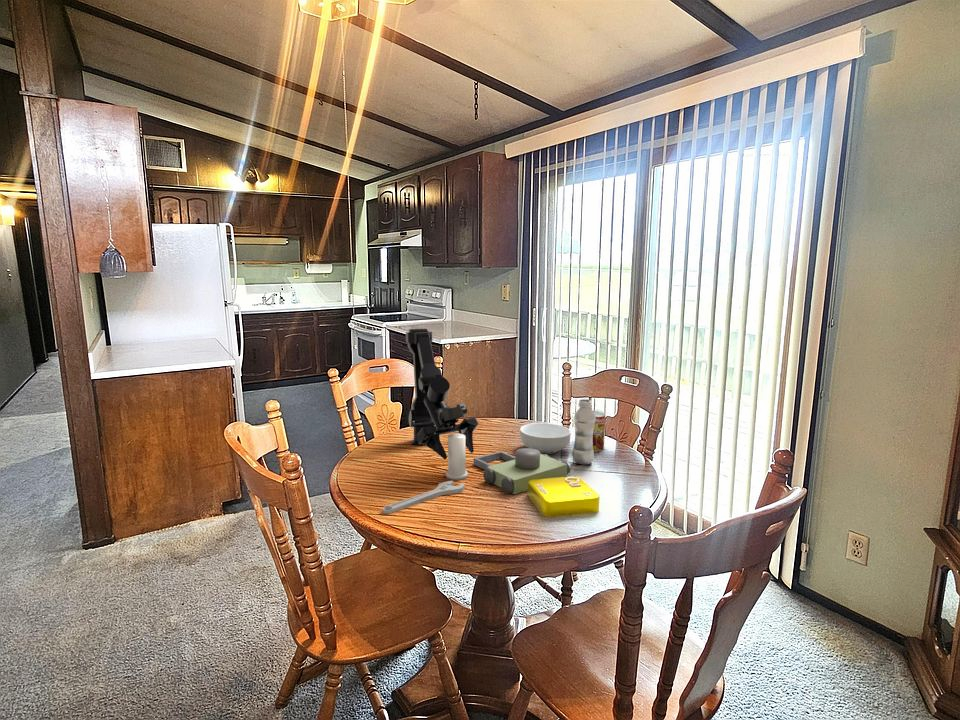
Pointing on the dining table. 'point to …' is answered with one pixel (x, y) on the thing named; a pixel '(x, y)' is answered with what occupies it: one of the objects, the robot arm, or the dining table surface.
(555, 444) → the cereal bowl
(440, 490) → the adjustable wrench
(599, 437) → the canned food
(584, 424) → the plastic bottle
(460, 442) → the white cylindrical piece
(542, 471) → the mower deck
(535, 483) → the element tile
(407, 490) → the dining table surface
